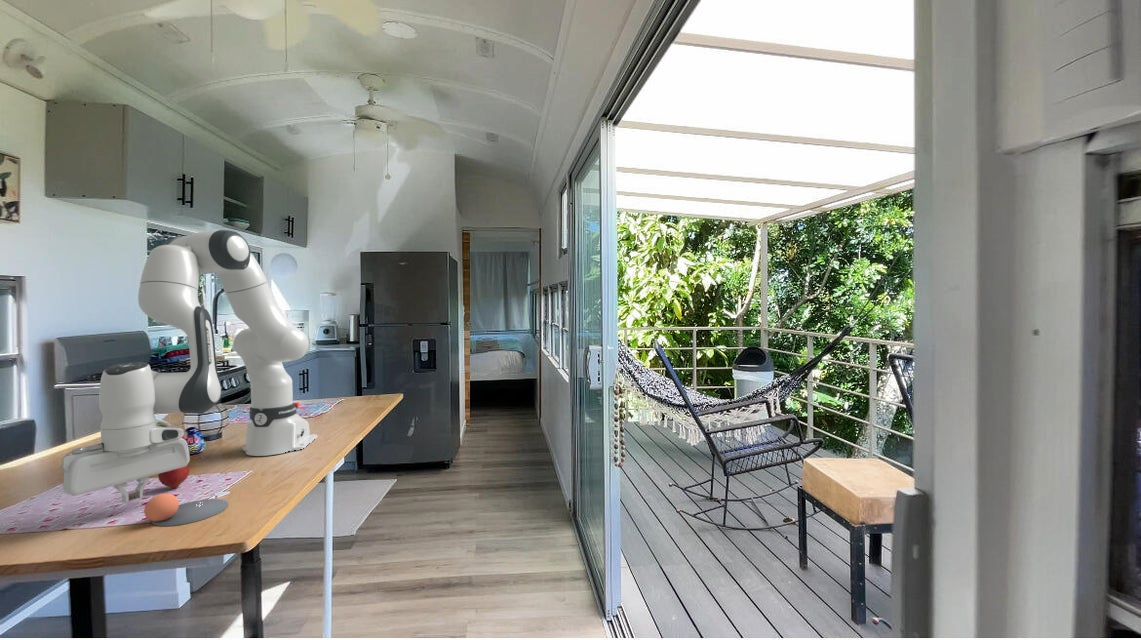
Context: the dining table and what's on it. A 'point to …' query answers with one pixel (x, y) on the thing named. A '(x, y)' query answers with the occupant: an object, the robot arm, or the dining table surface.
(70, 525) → the dining table surface
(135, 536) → the dining table surface
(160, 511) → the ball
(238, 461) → the dining table surface
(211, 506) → the disc
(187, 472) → the onion
